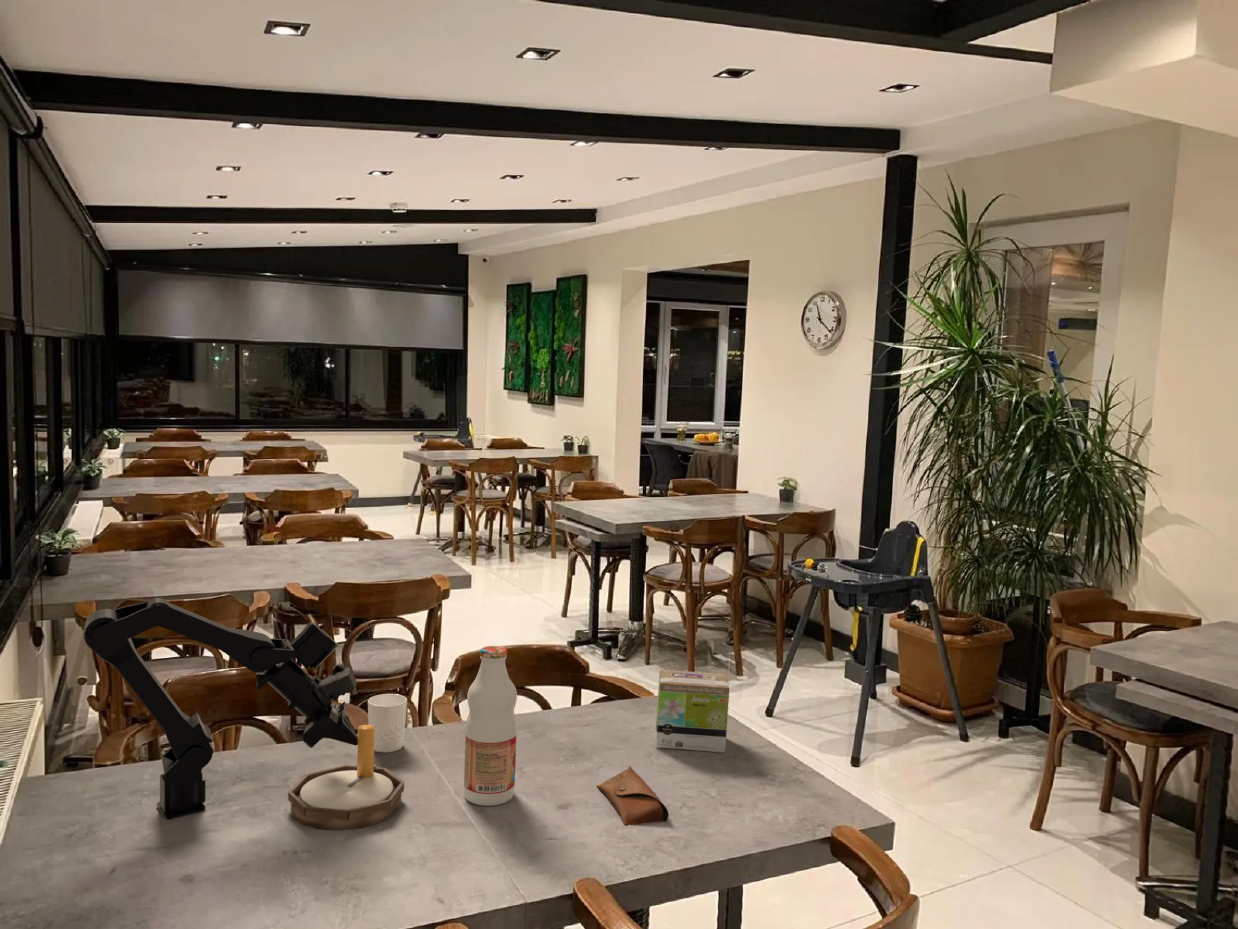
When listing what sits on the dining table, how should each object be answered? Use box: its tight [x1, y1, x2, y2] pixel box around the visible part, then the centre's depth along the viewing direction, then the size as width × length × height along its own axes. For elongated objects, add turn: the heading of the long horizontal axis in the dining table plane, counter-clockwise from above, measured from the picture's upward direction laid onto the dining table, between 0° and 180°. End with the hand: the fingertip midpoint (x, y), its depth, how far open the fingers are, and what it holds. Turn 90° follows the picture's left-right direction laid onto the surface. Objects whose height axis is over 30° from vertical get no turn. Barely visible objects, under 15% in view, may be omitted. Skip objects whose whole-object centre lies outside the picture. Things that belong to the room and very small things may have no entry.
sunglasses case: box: [595, 765, 669, 827], centre depth 178 cm, size 18×7×7 cm
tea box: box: [655, 669, 730, 754], centre depth 208 cm, size 15×10×15 cm
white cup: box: [367, 693, 408, 753], centre depth 199 cm, size 8×8×10 cm
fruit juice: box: [463, 645, 518, 807], centre depth 177 cm, size 9×9×28 cm
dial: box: [300, 724, 393, 810], centre depth 171 cm, size 16×16×10 cm
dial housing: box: [287, 763, 405, 831], centre depth 172 cm, size 19×19×4 cm
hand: (358, 743), depth 178 cm, fingers closed, pressing on dial
